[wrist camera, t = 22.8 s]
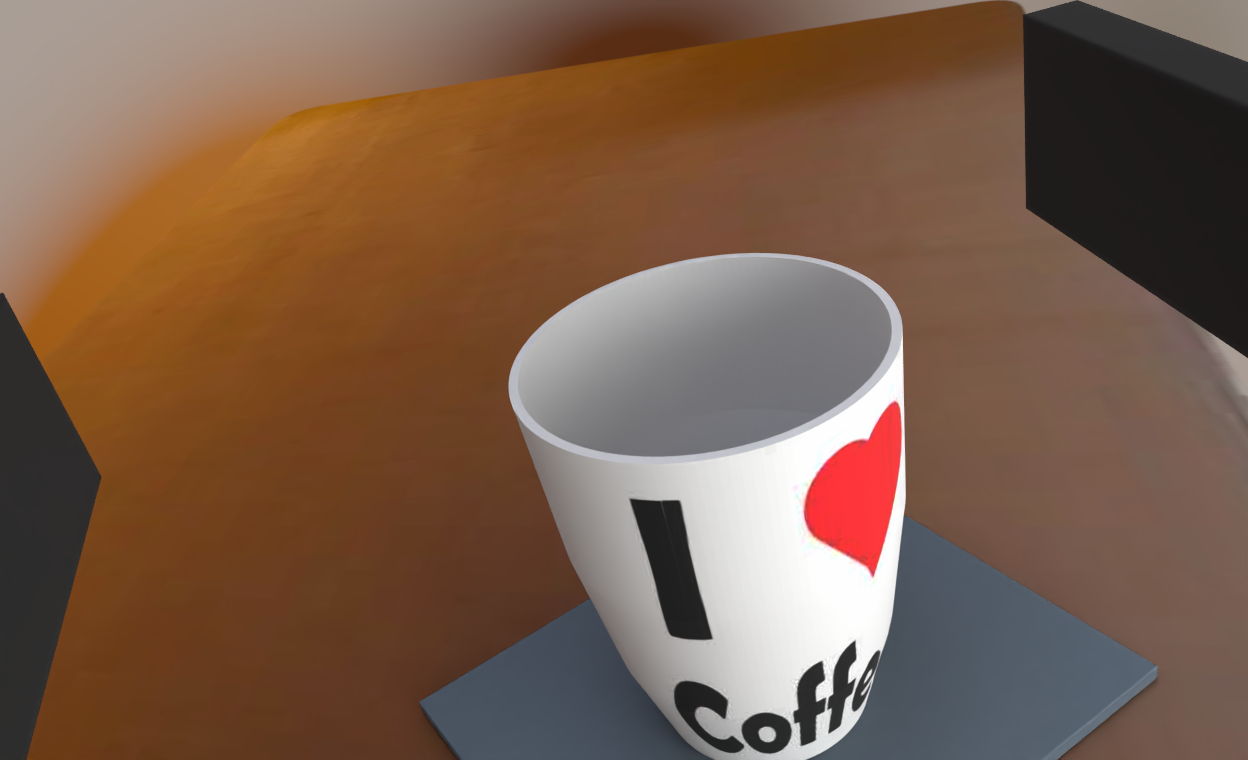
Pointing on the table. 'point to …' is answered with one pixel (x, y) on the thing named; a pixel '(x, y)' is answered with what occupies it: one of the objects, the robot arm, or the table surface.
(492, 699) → the mat
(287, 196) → the table surface
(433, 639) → the table surface
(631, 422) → the cup
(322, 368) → the table surface
